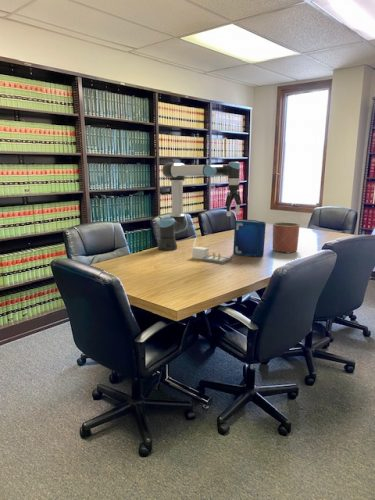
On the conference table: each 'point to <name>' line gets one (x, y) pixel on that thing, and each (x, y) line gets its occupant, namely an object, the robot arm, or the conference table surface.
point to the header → (216, 259)
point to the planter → (285, 236)
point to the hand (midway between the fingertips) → (233, 214)
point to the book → (249, 238)
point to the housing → (199, 252)
